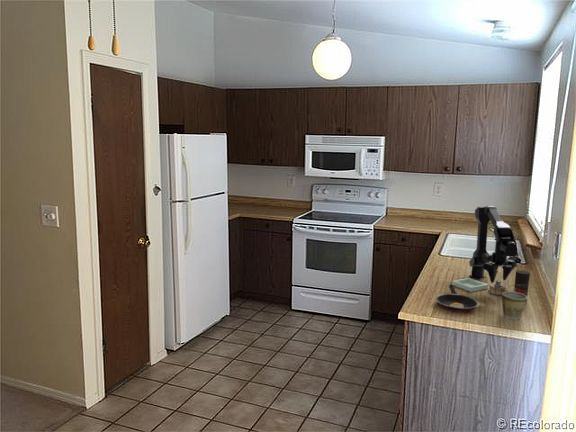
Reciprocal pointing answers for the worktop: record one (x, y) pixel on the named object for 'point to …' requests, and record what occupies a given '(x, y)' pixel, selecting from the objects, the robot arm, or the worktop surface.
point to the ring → (497, 289)
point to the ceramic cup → (513, 304)
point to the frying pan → (456, 301)
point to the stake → (497, 284)
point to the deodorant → (522, 282)
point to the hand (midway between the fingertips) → (498, 281)
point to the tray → (470, 284)
